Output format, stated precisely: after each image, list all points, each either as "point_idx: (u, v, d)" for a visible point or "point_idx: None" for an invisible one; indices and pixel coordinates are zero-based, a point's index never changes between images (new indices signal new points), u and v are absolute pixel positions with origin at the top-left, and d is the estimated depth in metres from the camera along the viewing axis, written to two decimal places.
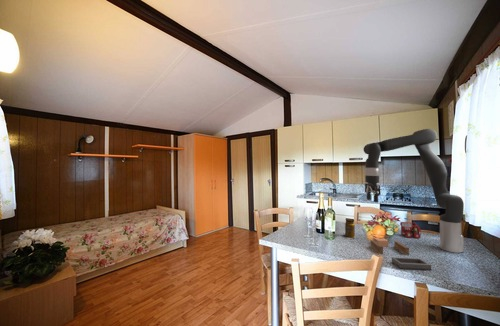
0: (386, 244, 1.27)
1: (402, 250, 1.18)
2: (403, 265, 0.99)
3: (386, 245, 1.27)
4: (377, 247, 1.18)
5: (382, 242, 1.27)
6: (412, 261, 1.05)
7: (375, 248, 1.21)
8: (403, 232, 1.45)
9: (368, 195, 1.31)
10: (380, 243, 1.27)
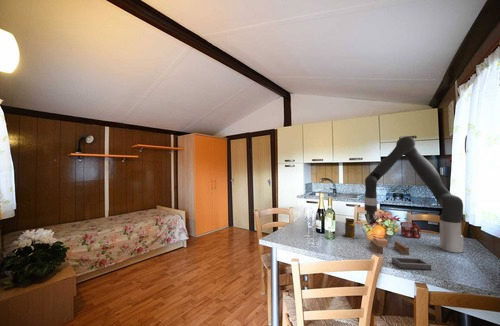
0: (386, 244, 1.26)
1: (402, 250, 1.18)
2: (403, 265, 0.99)
3: (386, 245, 1.26)
4: (377, 247, 1.18)
5: (382, 242, 1.27)
6: (412, 261, 1.05)
7: (375, 248, 1.21)
8: (403, 232, 1.45)
9: None
10: (380, 243, 1.27)
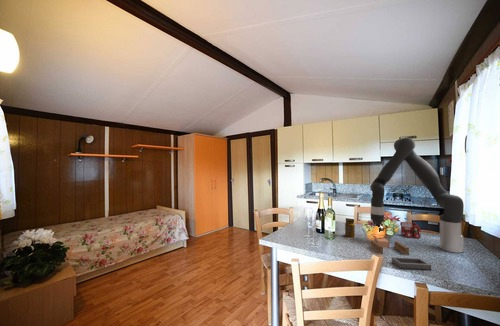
0: (387, 245, 1.25)
1: (402, 250, 1.18)
2: (403, 265, 0.99)
3: (387, 246, 1.25)
4: (377, 247, 1.18)
5: (383, 243, 1.26)
6: (412, 261, 1.05)
7: (375, 248, 1.21)
8: (403, 232, 1.45)
9: None
10: (381, 244, 1.26)
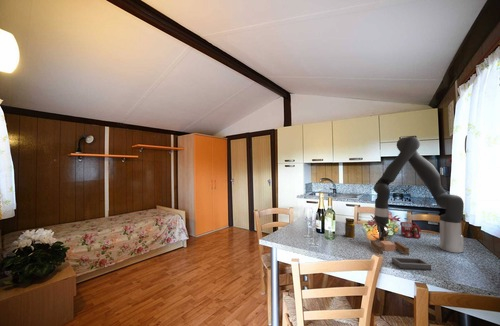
0: (393, 248, 1.20)
1: (402, 250, 1.18)
2: (403, 265, 0.99)
3: (393, 249, 1.20)
4: (377, 247, 1.18)
5: (389, 246, 1.20)
6: (412, 261, 1.05)
7: (375, 248, 1.21)
8: (403, 232, 1.45)
9: None
10: (387, 247, 1.21)
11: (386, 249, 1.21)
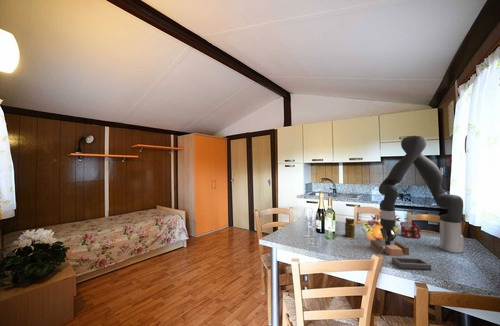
0: (400, 253, 1.14)
1: (402, 250, 1.18)
2: (403, 265, 0.99)
3: (400, 254, 1.14)
4: (377, 247, 1.18)
5: (396, 251, 1.14)
6: (412, 261, 1.05)
7: (375, 248, 1.21)
8: (403, 232, 1.45)
9: None
10: (393, 252, 1.14)
11: (392, 254, 1.14)
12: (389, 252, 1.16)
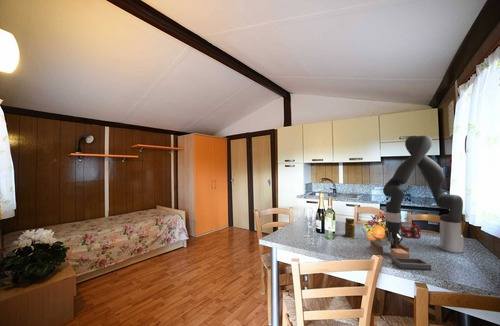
0: (407, 257, 1.08)
1: None
2: (403, 265, 0.99)
3: None
4: (377, 247, 1.18)
5: (402, 255, 1.09)
6: (412, 261, 1.05)
7: (375, 248, 1.21)
8: (403, 232, 1.45)
9: None
10: (400, 256, 1.09)
11: None
12: (395, 256, 1.10)
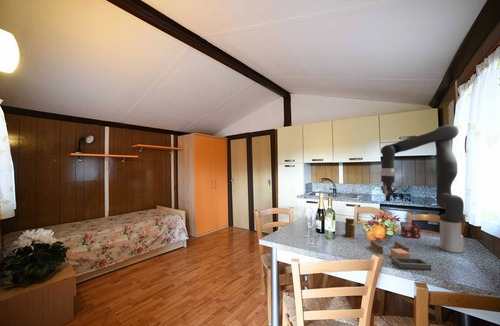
0: (407, 257, 1.08)
1: None
2: (403, 265, 0.99)
3: None
4: (377, 247, 1.18)
5: (403, 255, 1.08)
6: (412, 261, 1.05)
7: (375, 248, 1.21)
8: (403, 232, 1.45)
9: None
10: (401, 256, 1.08)
11: None
12: (396, 256, 1.10)
